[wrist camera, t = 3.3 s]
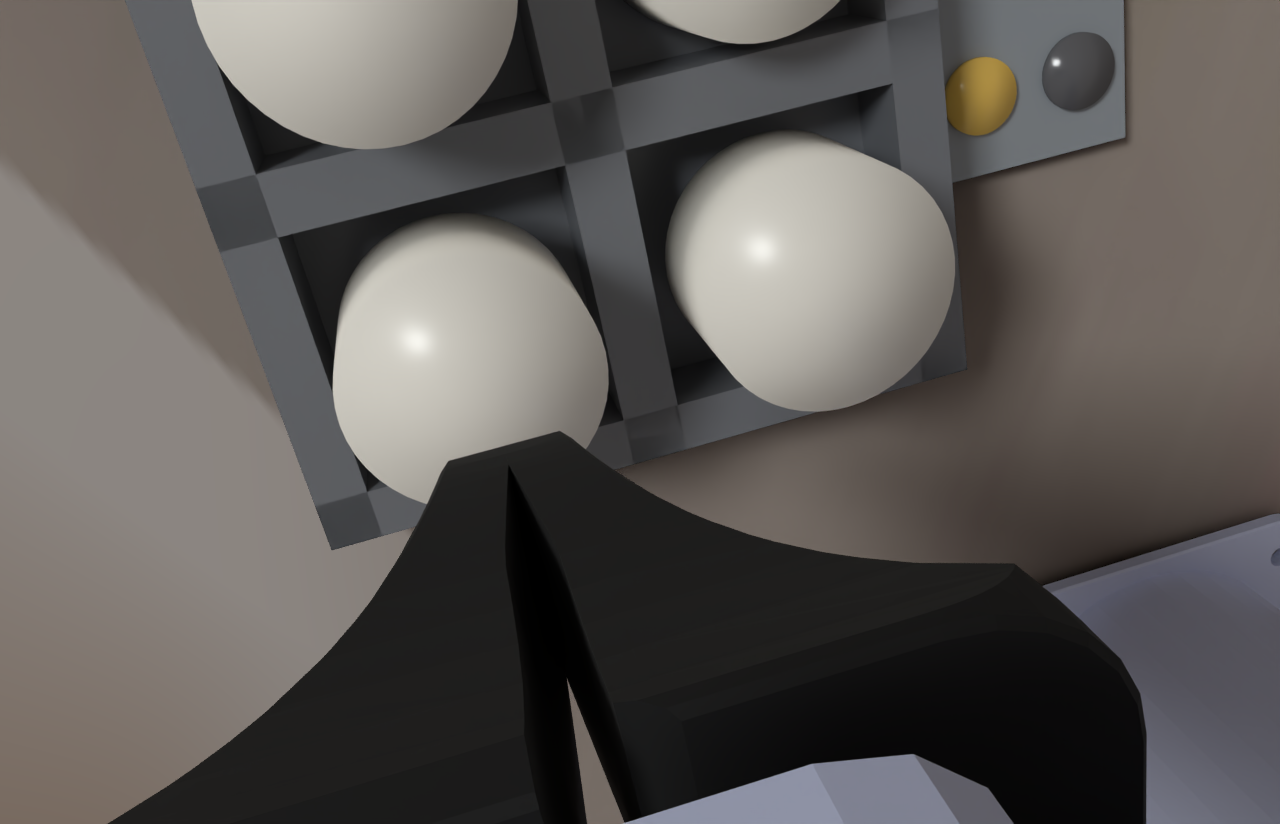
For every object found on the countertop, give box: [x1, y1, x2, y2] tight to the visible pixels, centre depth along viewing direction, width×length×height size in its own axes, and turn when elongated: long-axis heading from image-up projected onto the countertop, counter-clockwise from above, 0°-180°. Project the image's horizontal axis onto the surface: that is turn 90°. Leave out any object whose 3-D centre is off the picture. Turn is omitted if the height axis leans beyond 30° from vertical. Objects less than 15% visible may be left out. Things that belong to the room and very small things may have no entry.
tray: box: [125, 0, 967, 550], centre depth 19 cm, size 12×12×2 cm
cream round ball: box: [333, 213, 609, 504], centre depth 18 cm, size 4×4×3 cm
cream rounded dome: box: [665, 129, 955, 412], centre depth 18 cm, size 4×4×3 cm
